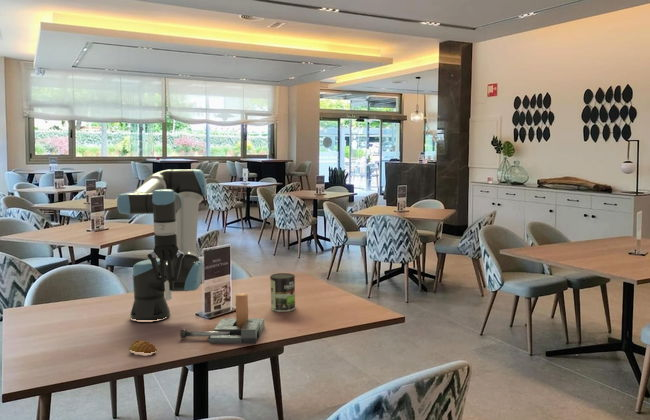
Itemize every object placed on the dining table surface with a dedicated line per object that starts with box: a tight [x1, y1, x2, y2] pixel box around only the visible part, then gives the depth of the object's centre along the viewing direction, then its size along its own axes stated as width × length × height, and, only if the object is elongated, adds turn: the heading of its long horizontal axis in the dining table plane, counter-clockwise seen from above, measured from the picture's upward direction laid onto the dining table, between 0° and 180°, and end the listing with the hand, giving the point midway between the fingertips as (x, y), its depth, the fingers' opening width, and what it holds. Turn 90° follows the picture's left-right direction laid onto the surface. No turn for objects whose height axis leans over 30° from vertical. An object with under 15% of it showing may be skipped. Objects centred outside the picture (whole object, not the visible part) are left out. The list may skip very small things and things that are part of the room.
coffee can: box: [269, 272, 296, 313], centre depth 237 cm, size 10×10×14 cm
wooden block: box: [235, 292, 249, 326], centre depth 208 cm, size 4×4×14 cm
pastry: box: [128, 339, 158, 353], centre depth 189 cm, size 9×7×4 cm
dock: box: [206, 317, 265, 344], centre depth 205 cm, size 18×18×5 cm
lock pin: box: [179, 329, 230, 339], centre depth 201 cm, size 17×3×3 cm, turn 87°
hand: (168, 299), depth 201 cm, fingers closed
